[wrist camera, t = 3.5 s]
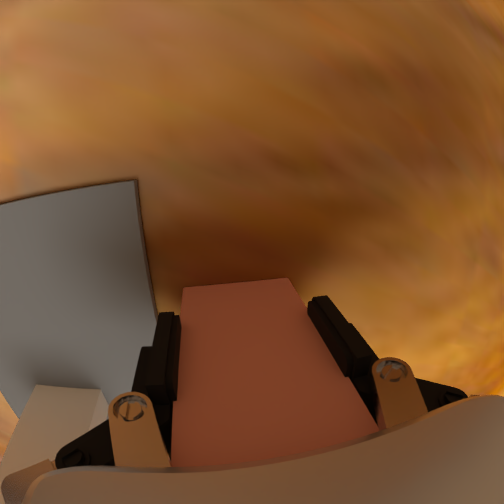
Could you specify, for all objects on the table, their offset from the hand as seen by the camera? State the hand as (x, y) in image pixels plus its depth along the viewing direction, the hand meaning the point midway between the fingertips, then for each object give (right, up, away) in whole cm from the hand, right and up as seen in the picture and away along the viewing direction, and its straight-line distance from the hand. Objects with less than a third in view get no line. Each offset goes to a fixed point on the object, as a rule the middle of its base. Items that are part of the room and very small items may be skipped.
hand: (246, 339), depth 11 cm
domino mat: (-11, -10, +6) cm, 16 cm away
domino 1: (-11, -6, +3) cm, 13 cm away
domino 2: (-1, +1, +3) cm, 3 cm away
